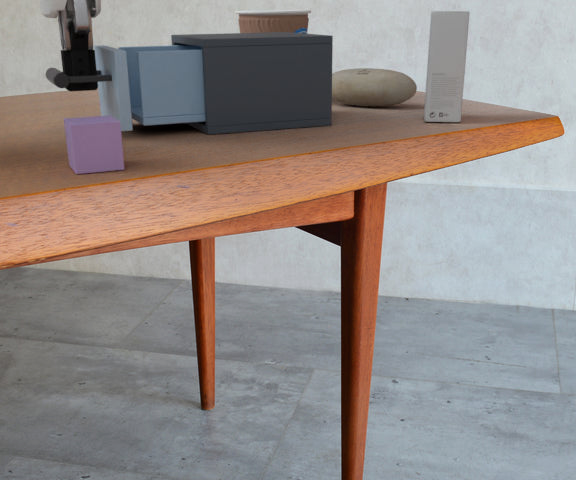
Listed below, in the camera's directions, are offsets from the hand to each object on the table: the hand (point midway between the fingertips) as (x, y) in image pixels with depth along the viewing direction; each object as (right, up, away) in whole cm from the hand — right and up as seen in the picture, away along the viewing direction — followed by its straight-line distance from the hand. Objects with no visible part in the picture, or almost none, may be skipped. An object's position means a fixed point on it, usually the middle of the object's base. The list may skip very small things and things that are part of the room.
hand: (81, 89), depth 77 cm
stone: (+32, +3, +21) cm, 39 cm away
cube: (+5, -11, -14) cm, 19 cm away
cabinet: (+17, -1, +9) cm, 20 cm away
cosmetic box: (+40, -1, +10) cm, 41 cm away
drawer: (+6, -2, +4) cm, 8 cm away
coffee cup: (+20, +6, +27) cm, 34 cm away
